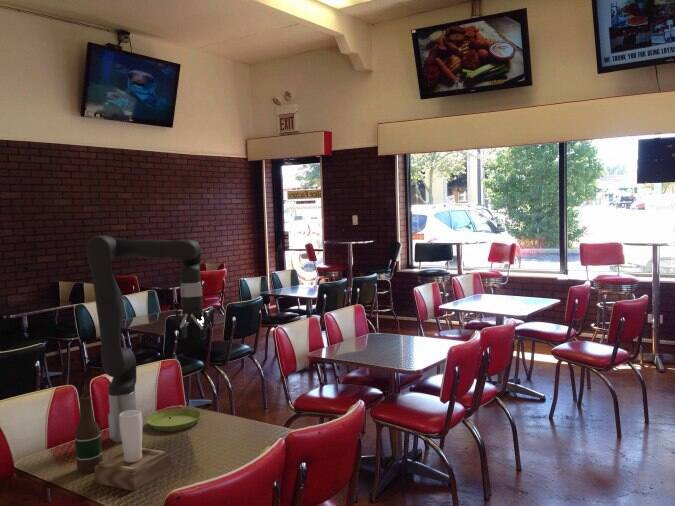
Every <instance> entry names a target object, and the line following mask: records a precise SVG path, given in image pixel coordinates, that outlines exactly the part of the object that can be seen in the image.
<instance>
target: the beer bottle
mask: <svg viewBox="0 0 675 506" xmlns="http://www.w3.org/2000/svg"><path fill="white" fill-rule="evenodd" d="M91 401H92V397H91V396H90V395H82V396H80V397H79V398H78V402H79V422H78V424H77V426H76V427H75V431H74V444H75V448H74V449H75V459H76V468H77V469H76V470H77V471H78V473H80V474H92V473H95V469H94V467H95V466H97V465H99V463H100V462H102V461H104V460H103V448H102V446H103V445H102V433H101V428H100V426H99V424H98V423H97V421H95V419H94V416H93V415H94V414H93V409H92V402H91Z"/></svg>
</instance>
